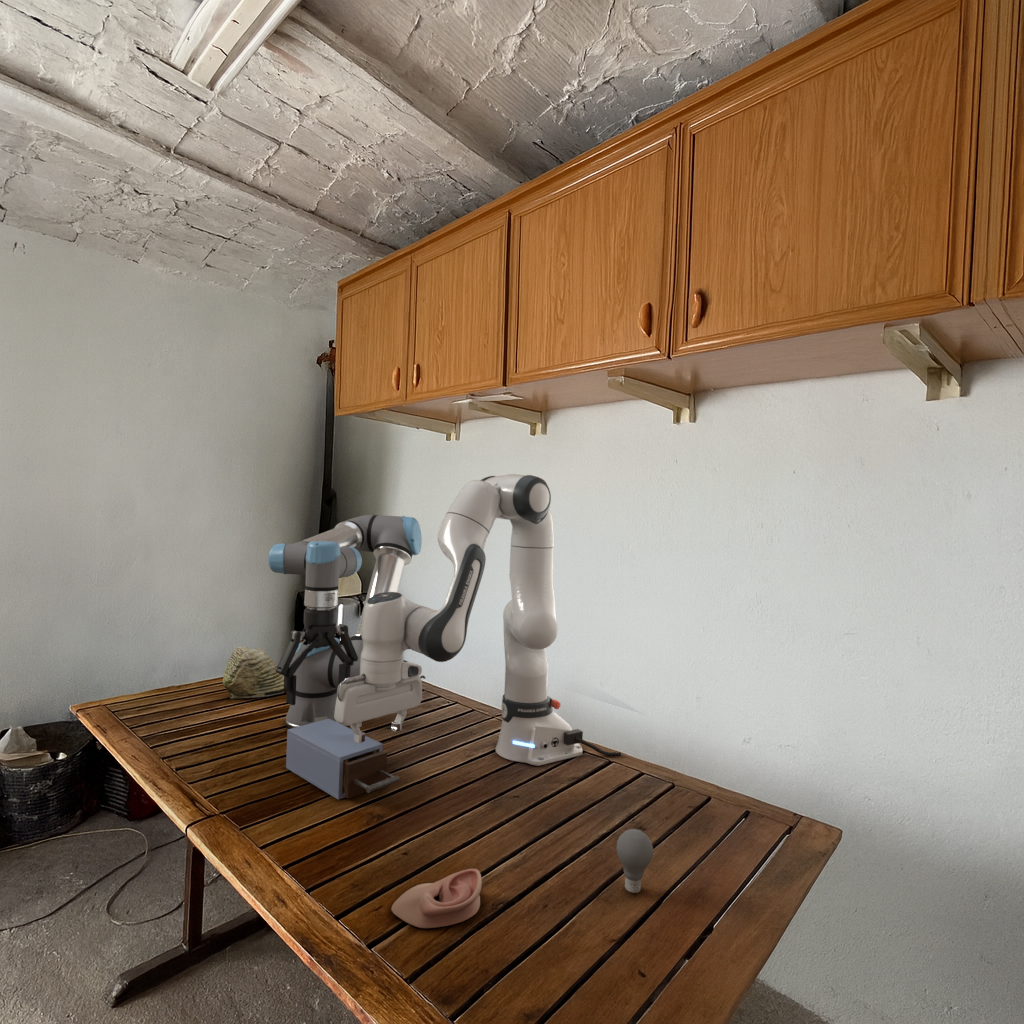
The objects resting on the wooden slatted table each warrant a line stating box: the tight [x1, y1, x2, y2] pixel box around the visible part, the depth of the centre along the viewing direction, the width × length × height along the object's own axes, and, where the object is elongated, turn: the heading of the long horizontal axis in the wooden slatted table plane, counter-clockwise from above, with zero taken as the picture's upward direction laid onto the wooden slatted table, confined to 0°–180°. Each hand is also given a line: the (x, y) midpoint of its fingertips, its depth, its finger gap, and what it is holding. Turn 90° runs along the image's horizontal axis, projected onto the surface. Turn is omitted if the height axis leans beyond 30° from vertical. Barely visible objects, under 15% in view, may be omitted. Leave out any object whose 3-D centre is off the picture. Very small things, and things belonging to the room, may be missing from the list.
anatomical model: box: [391, 868, 483, 929], centre depth 99 cm, size 13×4×12 cm
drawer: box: [342, 750, 400, 799], centre depth 140 cm, size 26×10×7 cm, turn 49°
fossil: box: [222, 646, 286, 699], centre depth 198 cm, size 9×18×15 cm, turn 132°
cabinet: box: [285, 719, 384, 801], centre depth 144 cm, size 21×11×9 cm, turn 49°
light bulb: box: [615, 828, 654, 894], centre depth 106 cm, size 6×6×10 cm
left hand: (317, 697), depth 148 cm, fingers open, 13 cm apart
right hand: (378, 736), depth 133 cm, fingers open, 8 cm apart
